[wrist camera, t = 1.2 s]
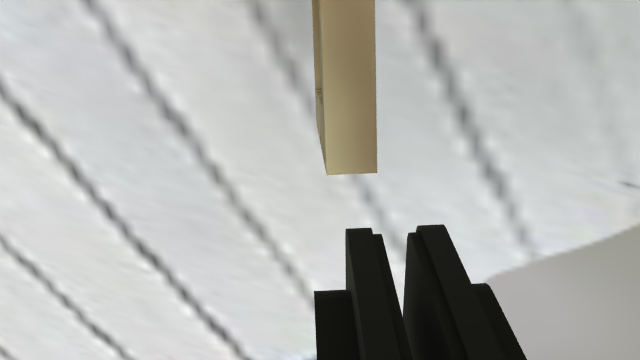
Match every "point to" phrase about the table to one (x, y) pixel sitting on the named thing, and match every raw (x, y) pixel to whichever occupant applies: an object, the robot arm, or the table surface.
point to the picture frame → (345, 84)
